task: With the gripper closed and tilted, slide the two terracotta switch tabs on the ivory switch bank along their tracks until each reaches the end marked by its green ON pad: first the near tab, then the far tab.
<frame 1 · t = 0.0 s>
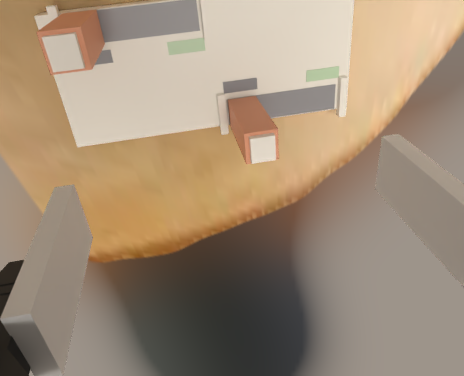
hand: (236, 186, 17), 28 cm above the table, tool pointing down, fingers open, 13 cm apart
tab 1: (75, 39, 32), point 7 cm above the table, slide at 0.0 cm
housing: (207, 62, 42), on the table
tab 2: (252, 128, 38), point 7 cm above the table, slide at 0.0 cm
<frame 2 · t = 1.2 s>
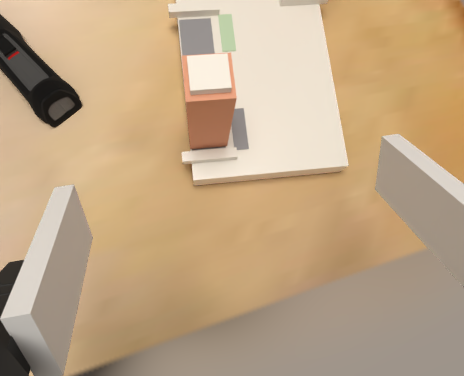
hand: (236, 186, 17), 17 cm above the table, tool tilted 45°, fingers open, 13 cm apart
electric trimmer: (16, 62, 35), on the table
tab 1: (207, 105, 28), point 7 cm above the table, slide at 0.0 cm
housing: (247, 25, 37), on the table
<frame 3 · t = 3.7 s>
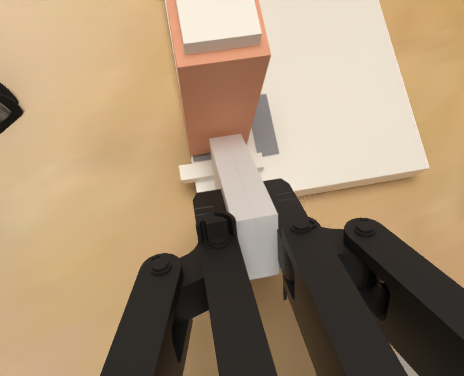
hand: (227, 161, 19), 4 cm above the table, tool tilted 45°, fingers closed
tab 1: (214, 83, 17), point 7 cm above the table, slide at 0.2 cm, touching gripper
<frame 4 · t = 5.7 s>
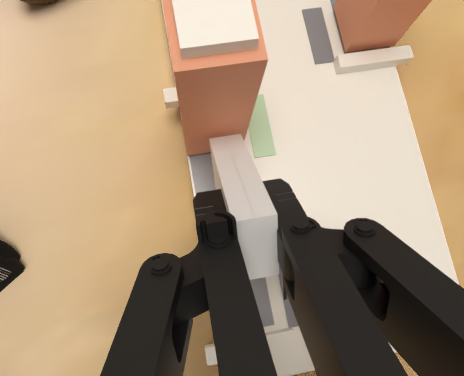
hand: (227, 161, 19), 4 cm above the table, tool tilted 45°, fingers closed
tab 1: (211, 84, 17), point 7 cm above the table, slide at 9.3 cm, touching gripper, housing
housing: (284, 102, 25), on the table
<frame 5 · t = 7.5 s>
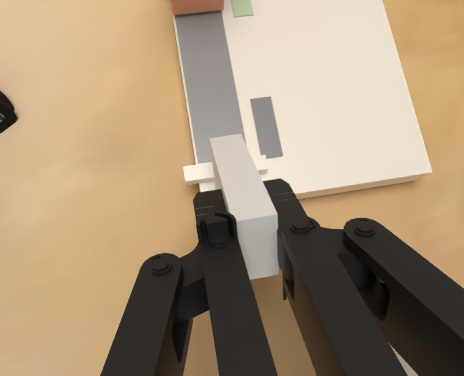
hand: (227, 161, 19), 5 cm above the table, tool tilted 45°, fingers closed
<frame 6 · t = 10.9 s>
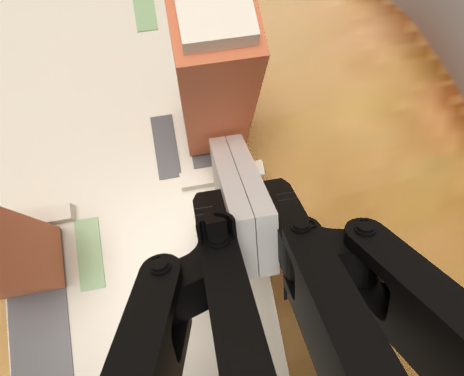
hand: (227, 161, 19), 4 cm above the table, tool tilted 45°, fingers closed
housing: (137, 213, 23), on the table
tab 2: (213, 83, 17), point 7 cm above the table, slide at 0.6 cm, touching gripper
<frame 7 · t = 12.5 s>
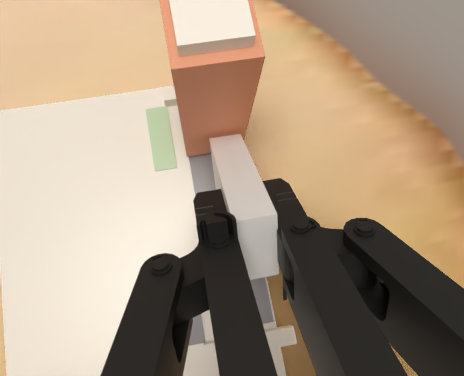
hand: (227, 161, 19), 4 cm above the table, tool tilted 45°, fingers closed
housing: (155, 371, 21), on the table
tab 2: (210, 84, 17), point 7 cm above the table, slide at 9.1 cm, touching gripper
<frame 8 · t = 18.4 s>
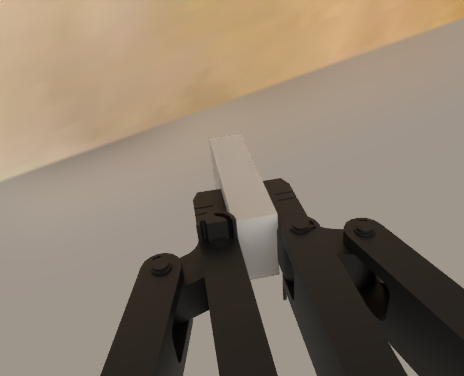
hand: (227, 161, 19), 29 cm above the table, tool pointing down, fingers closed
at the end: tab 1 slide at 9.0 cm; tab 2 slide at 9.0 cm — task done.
